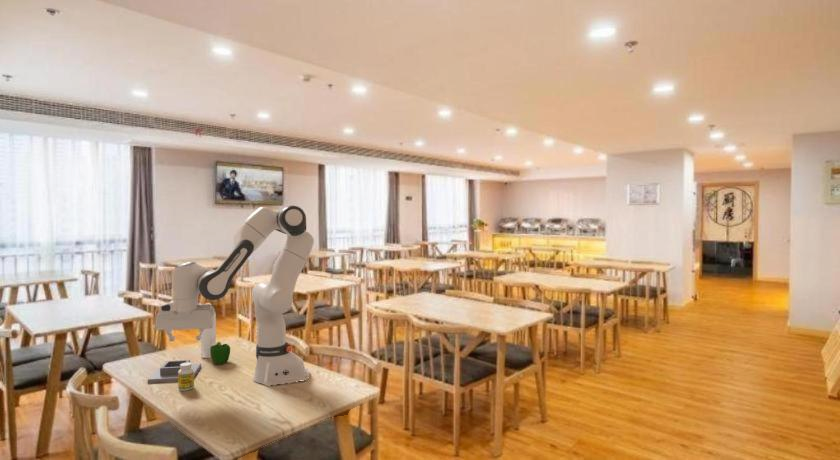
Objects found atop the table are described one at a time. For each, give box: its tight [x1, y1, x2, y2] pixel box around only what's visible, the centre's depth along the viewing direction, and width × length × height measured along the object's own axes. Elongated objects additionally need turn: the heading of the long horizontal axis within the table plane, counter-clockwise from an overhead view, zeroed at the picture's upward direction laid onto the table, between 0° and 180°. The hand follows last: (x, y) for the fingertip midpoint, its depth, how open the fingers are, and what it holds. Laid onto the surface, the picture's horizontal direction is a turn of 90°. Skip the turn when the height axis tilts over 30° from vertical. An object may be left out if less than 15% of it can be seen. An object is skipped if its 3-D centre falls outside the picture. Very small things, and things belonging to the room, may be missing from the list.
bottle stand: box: [147, 359, 202, 384], centre depth 194 cm, size 16×16×4 cm
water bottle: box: [200, 302, 217, 359], centre depth 216 cm, size 9×6×25 cm
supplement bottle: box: [177, 361, 195, 392], centre depth 180 cm, size 5×5×10 cm
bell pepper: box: [210, 341, 231, 366], centre depth 208 cm, size 8×8×10 cm
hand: (185, 340), depth 179 cm, fingers open, 8 cm apart
